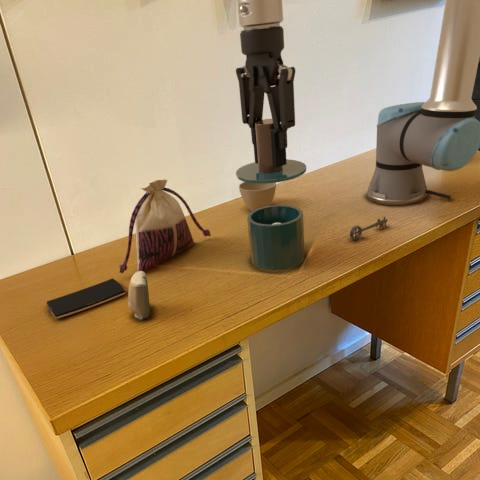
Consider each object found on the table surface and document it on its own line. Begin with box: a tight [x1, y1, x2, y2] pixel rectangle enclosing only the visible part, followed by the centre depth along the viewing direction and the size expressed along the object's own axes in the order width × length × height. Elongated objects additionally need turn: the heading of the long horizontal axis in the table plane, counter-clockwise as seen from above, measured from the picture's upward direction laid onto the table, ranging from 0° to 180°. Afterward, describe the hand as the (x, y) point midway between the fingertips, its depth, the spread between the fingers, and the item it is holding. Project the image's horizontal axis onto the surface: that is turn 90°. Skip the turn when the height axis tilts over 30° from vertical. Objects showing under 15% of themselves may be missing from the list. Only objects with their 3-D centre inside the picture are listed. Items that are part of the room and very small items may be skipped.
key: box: [349, 216, 388, 241], centre depth 113 cm, size 12×1×3 cm, turn 124°
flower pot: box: [238, 181, 277, 212], centre depth 133 cm, size 10×10×7 cm
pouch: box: [118, 178, 212, 274], centre depth 109 cm, size 25×8×19 cm, turn 138°
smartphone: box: [46, 278, 127, 319], centre depth 101 cm, size 7×1×15 cm
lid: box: [235, 118, 307, 184], centre depth 95 cm, size 14×14×10 cm
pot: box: [246, 204, 306, 271], centre depth 105 cm, size 12×12×10 cm
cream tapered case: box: [127, 270, 151, 321], centre depth 92 cm, size 6×5×8 cm
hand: (270, 163), depth 96 cm, fingers closed on lid, 5 cm apart
